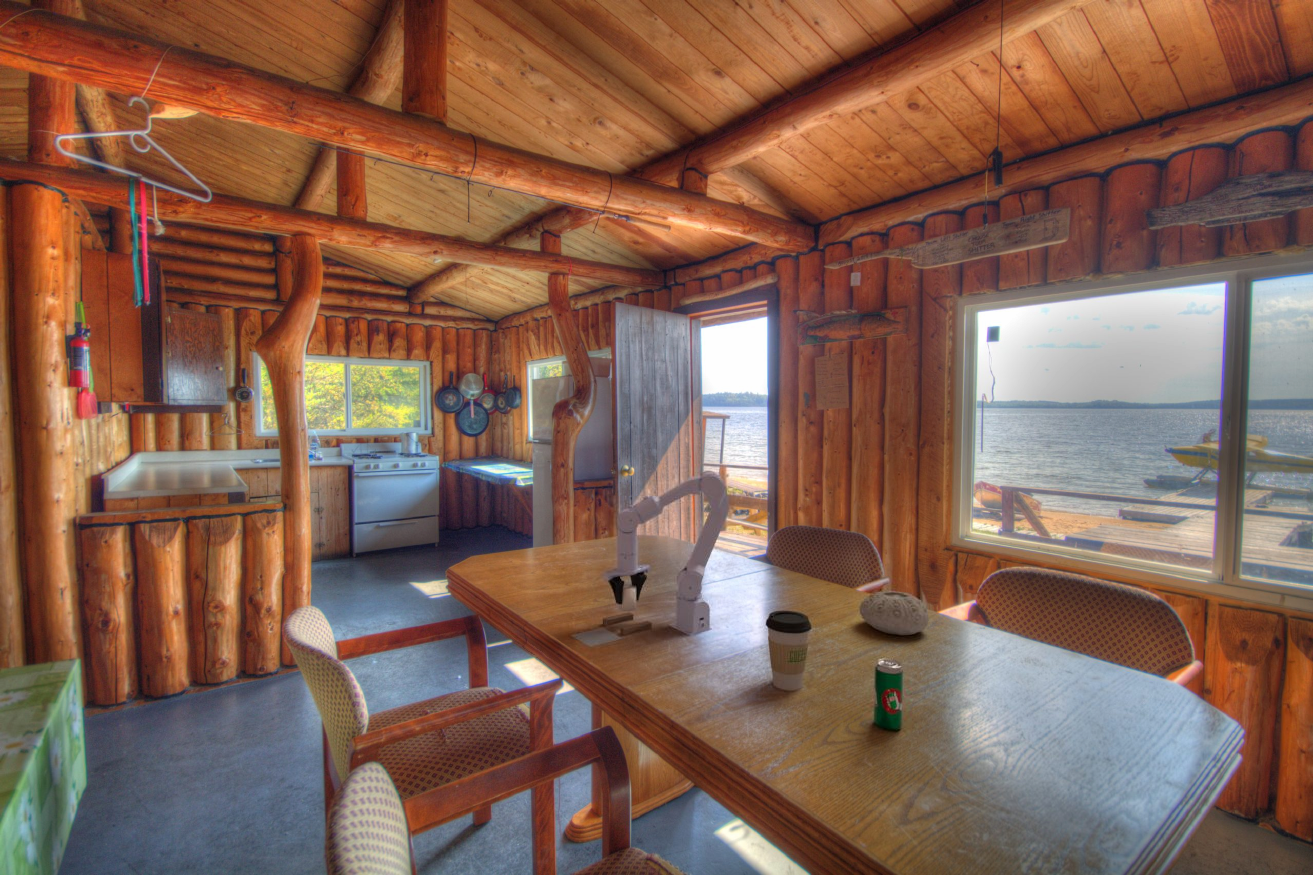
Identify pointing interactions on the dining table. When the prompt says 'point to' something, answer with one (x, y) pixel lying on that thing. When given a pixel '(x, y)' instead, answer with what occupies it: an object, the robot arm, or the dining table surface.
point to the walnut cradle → (626, 624)
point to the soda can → (888, 694)
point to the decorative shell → (894, 612)
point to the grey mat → (596, 637)
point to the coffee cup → (788, 648)
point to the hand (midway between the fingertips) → (627, 601)
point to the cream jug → (628, 598)
